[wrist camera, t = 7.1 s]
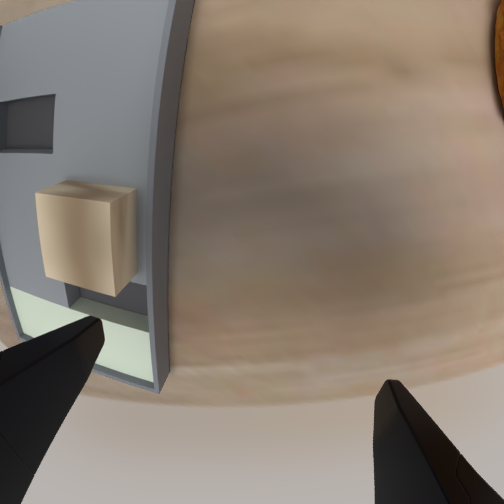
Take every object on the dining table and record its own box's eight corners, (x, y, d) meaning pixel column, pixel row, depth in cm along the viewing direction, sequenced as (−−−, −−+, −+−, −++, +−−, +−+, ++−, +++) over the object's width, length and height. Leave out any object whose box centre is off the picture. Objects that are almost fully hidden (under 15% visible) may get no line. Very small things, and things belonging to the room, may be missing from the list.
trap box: (32, 324, 27) (18, 338, 24) (16, 28, 15) (-7, 26, 12) (169, 371, 26) (159, 393, 23) (195, -6, 14) (180, -22, 11)
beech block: (71, 256, 20) (45, 276, 17) (65, 180, 18) (35, 192, 15) (137, 272, 20) (115, 297, 17) (136, 188, 17) (109, 202, 14)
